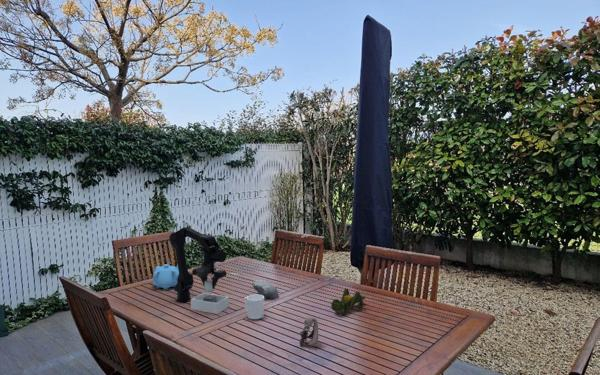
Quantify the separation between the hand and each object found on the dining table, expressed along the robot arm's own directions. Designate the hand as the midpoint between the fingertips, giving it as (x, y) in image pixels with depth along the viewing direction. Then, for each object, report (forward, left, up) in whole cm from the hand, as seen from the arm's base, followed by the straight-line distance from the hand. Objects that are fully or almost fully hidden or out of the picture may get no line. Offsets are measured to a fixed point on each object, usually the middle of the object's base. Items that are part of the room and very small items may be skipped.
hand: (209, 288), depth 206 cm
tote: (0, 0, -11) cm, 11 cm away
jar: (0, 0, -1) cm, 1 cm away
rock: (+19, +28, -11) cm, 36 cm away
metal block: (0, 0, -10) cm, 10 cm away
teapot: (-47, +21, -11) cm, 52 cm away
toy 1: (+65, -18, -11) cm, 69 cm away
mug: (+28, -1, -11) cm, 30 cm away
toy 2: (+70, +27, -11) cm, 76 cm away
